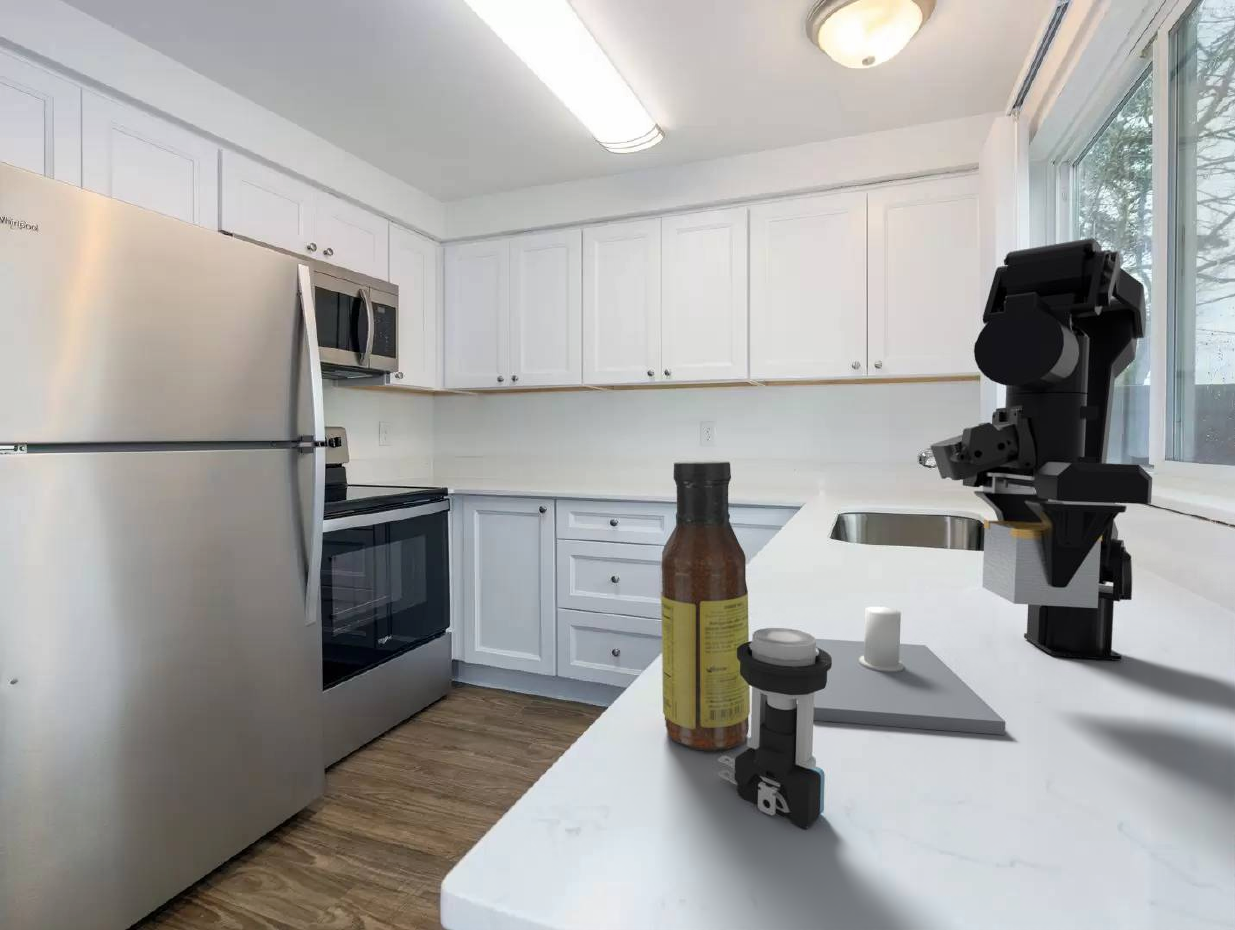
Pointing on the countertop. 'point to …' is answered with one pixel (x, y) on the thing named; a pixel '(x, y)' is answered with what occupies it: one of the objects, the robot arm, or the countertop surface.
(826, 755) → the countertop surface
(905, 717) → the panel
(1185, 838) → the countertop surface
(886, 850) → the countertop surface
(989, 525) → the open cube shelf
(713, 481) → the sauce bottle
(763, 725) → the push button
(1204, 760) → the countertop surface
